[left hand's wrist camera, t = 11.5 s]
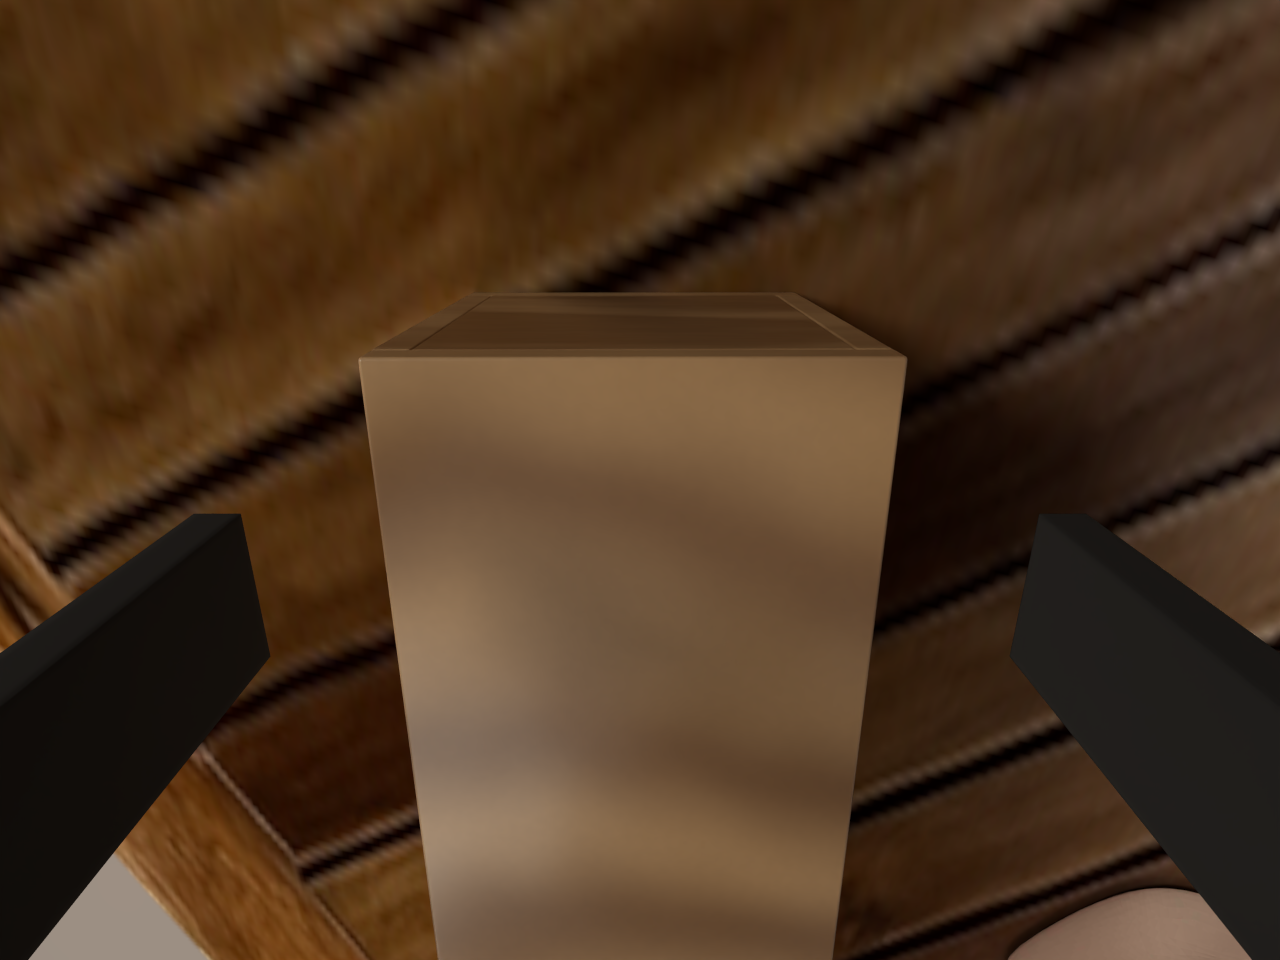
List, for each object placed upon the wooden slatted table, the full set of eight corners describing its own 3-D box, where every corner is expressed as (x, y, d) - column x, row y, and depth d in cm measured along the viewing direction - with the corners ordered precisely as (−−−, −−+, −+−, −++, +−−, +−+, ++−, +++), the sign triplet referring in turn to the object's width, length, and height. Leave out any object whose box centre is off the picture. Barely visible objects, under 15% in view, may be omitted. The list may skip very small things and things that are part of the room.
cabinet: (762, 771, 31) (822, 1043, 21) (508, 772, 31) (448, 1046, 21) (796, 292, 25) (909, 356, 14) (471, 292, 24) (356, 357, 14)
